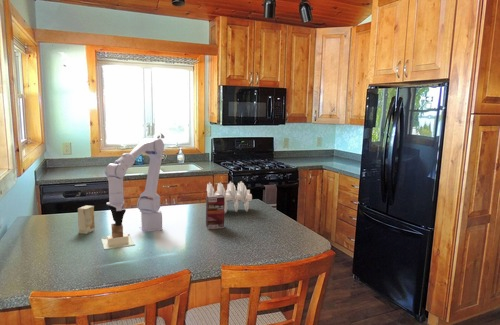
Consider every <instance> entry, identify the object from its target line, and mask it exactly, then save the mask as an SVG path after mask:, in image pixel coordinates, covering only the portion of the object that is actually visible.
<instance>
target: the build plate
mask: <svg viewBox="0 0 500 325" xmlns="http://www.w3.org/2000/svg"><path fill="white" fill-rule="evenodd" d="M127 234H128V239H129V243H123V244H117V245H110V246H109V245H108V240H107V236H105V237H100V239H101V242H102V245H103V249H104V251H108V250H113V249H120V248H127V247H133V246H136V244H135V243H134V240H133V238H132V237H131V234H130V233H127Z"/></svg>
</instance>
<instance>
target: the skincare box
mask: <svg viewBox="0 0 500 325" xmlns="http://www.w3.org/2000/svg"><path fill="white" fill-rule="evenodd" d="M77 220H78V221H77V222H78V226H77V227H78V228H77V229H78V234H85V235H87V234H90V233H91V232H95V228H96V227H95V205H86V204H85V205H83V206H81V207H78V208H77Z"/></svg>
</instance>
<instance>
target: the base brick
mask: <svg viewBox="0 0 500 325" xmlns="http://www.w3.org/2000/svg"><path fill="white" fill-rule="evenodd" d="M128 234H129V233H127V232H126V233H124V232H123V237H118V238H113V237H112V234H110V235H109V234H108V235H107V236H106V237H107V240H108V245H109V246H110V245H117V244H123V243H129V239H128Z"/></svg>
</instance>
